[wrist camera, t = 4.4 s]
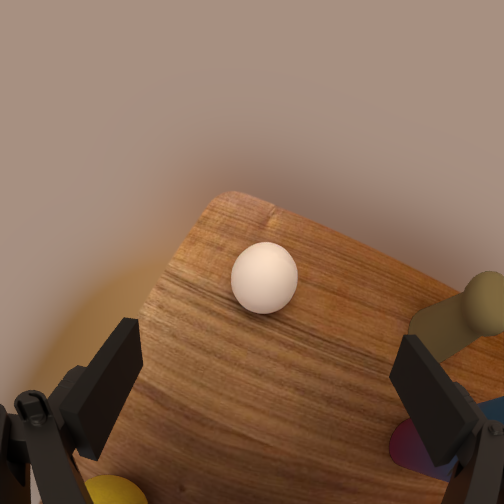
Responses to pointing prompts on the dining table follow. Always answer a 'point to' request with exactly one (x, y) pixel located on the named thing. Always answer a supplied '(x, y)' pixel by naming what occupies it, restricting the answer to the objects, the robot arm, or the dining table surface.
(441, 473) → the cup
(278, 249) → the egg
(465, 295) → the cork
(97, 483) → the lemon
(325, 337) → the dining table surface
